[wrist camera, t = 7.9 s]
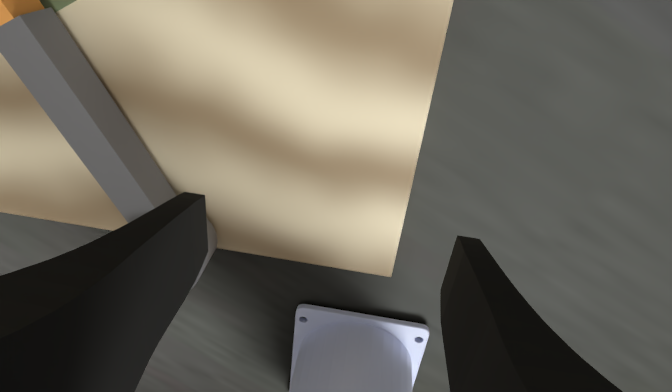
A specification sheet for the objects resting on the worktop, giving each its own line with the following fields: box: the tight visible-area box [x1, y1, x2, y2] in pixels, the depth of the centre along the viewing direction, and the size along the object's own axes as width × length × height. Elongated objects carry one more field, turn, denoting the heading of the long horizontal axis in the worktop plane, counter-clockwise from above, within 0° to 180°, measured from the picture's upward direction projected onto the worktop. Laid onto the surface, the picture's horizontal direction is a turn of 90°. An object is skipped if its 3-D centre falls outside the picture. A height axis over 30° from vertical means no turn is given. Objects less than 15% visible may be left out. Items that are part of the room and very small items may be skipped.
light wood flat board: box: [0, 0, 453, 277], centre depth 21 cm, size 15×23×1 cm, turn 84°
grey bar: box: [0, 0, 218, 289], centre depth 20 cm, size 15×4×3 cm, turn 23°
